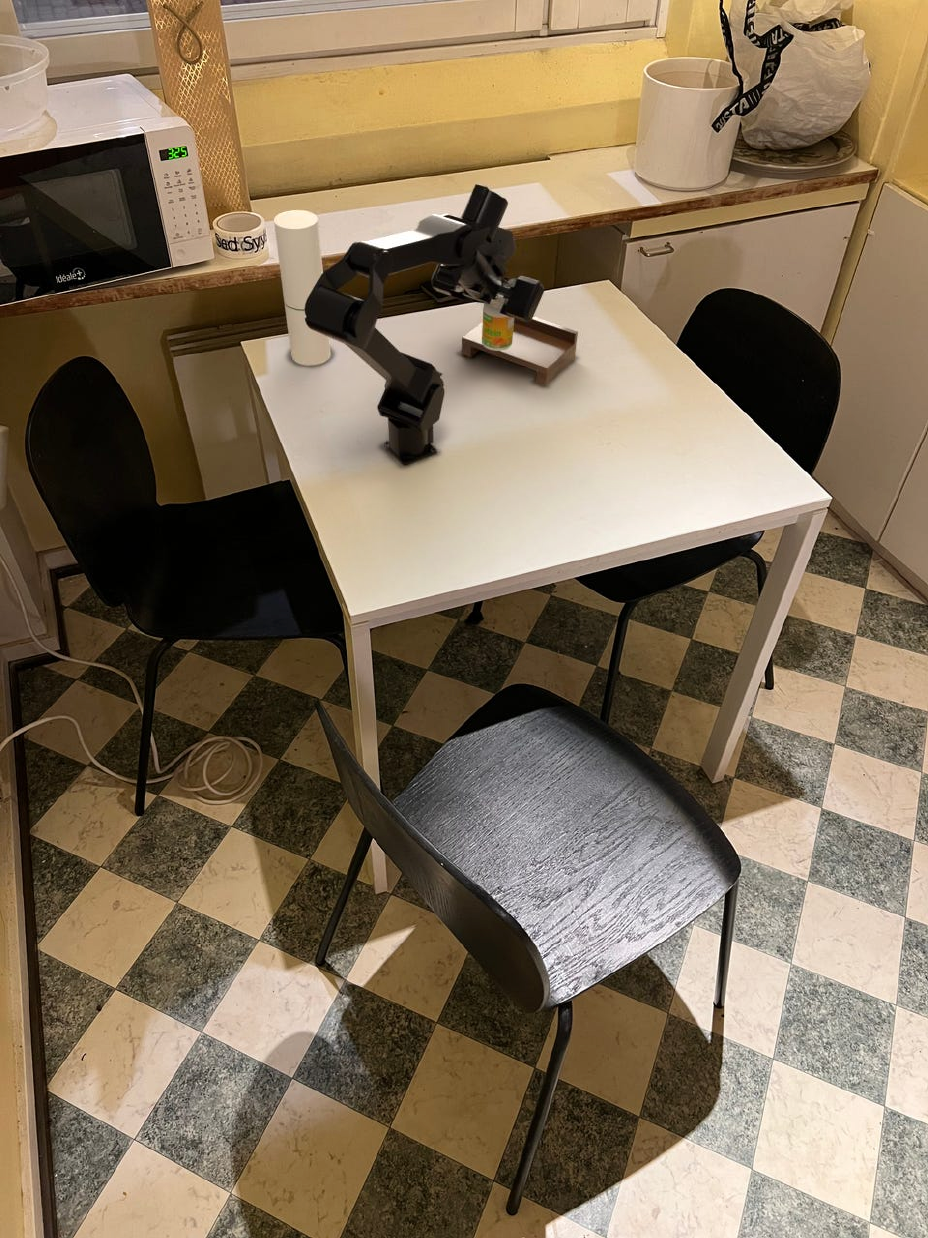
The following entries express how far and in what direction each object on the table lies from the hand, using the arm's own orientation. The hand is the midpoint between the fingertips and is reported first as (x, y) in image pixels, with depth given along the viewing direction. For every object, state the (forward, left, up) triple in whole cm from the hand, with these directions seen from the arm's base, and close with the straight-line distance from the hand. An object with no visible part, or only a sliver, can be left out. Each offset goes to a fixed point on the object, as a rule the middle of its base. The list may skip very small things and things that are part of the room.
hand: (503, 305), depth 156 cm
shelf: (+6, +3, -13) cm, 15 cm away
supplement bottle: (-1, -1, -7) cm, 7 cm away
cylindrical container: (-26, +24, -13) cm, 37 cm away
